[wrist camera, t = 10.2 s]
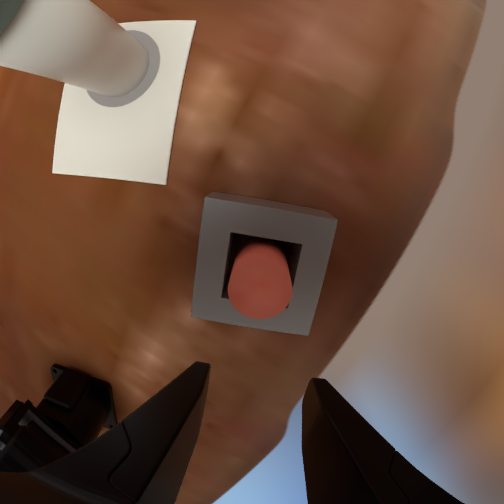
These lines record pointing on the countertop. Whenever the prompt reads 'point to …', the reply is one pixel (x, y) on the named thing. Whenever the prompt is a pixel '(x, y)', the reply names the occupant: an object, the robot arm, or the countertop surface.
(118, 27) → the teal and white bottle
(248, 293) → the button
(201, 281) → the button housing
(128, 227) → the countertop surface
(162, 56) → the paper
